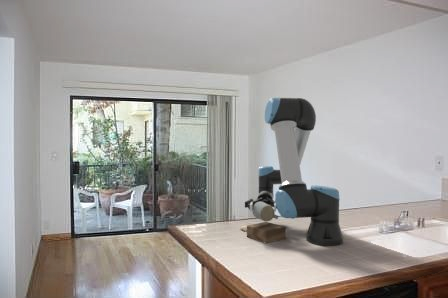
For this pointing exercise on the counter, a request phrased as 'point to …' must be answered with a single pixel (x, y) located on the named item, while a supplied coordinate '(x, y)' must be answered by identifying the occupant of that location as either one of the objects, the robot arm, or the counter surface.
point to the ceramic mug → (263, 211)
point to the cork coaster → (243, 228)
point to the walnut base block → (266, 232)
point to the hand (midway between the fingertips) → (262, 208)
